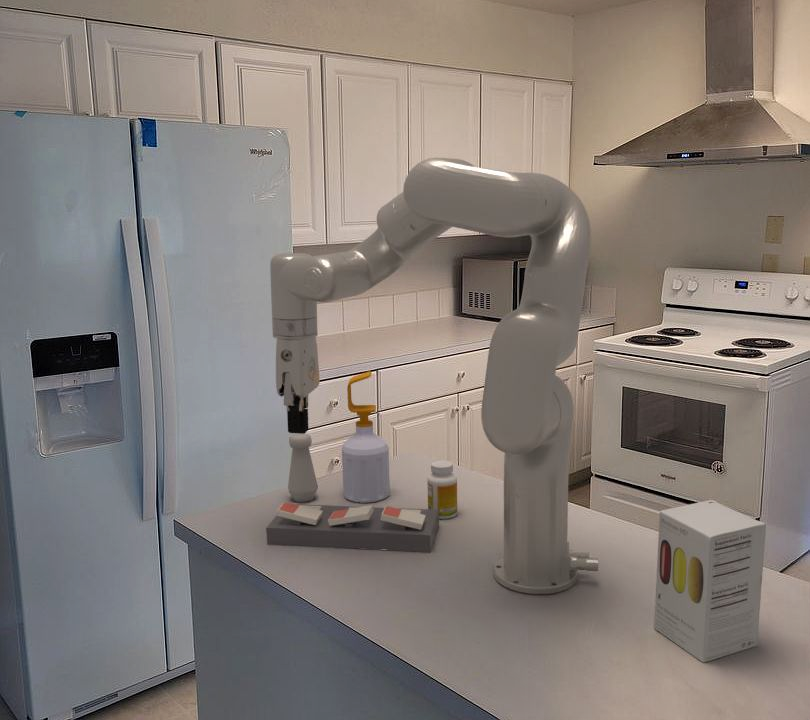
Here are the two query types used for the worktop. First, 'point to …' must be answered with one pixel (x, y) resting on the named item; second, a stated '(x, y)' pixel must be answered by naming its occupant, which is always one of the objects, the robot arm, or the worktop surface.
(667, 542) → the supplement box
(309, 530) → the rocker switch panel
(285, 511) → the rocker far
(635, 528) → the worktop surface
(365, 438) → the soap bottle
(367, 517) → the rocker middle
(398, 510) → the rocker near
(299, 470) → the salt shaker
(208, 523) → the worktop surface
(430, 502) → the supplement bottle
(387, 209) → the robot arm
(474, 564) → the worktop surface
